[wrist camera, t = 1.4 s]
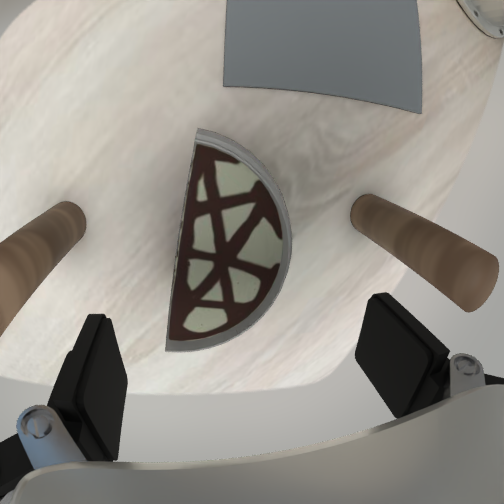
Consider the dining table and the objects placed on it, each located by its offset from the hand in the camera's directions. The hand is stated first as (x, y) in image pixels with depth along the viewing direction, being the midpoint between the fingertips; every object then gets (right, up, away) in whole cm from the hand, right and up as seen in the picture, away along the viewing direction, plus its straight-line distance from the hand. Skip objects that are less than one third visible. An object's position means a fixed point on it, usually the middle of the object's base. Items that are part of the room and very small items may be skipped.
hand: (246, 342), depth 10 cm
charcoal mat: (+7, +22, +9) cm, 25 cm away
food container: (-2, +6, +14) cm, 15 cm away
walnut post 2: (+11, +7, +16) cm, 20 cm away
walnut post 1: (-15, +5, +11) cm, 20 cm away
